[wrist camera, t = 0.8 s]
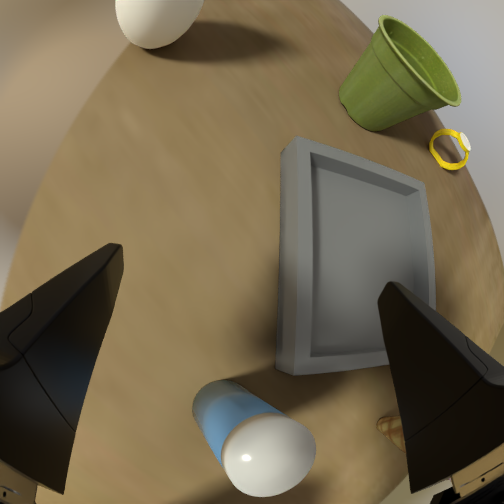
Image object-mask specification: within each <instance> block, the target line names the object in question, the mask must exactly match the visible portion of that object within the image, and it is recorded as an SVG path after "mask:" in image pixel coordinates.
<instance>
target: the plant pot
mask: <svg viewBox="0 0 504 504" xmlns="http://www.w3.org/2000/svg"><path fill="white" fill-rule="evenodd" d="M378 22H379V27H378V29H377V31H376V32H375V33H374V35H373V36H372V39H371V43H370V44H369V45H368V47H367V48H366V50H365V51H364V53H363V54H362V56H361V57H360V59H359V60H358V62H357V63H356V65H355V66H354V68H353V69H352V71H351V72H350V73H349V75H348V76H347V78H346V79H345V81H344V82H343V84H342V85H341V87H340V89H339V97H340V101H341V103H342V104H343V105H344V106H345V107H346V109H347V112H348V114H349V116H350V117H351V118H352V119H353V120H354V121H355V122H356V123H358V124H359V125H360V126H362V127H363V128H365V129H367V130H370V131H381V130H383V129H386V128H388V127H390V126H393V125H395V124H397V123H400V122H402V121H404V120H407V119H409V118H412V117H414V116H416V115H419V114H421V113H424V112H426V111H429V110H431V109H432V110H436V109H439V108H442V107H444V106H447V105H450V106H454V107H456V106H459V105H460V103H461V94H460V90H459V87H458V85H457V83H456V81H455V79H454V77H453V75H452V73H451V71H450V70H449V68H448V67H447V66H446V64H445V63H444V61H443V60H442V58H441V57H440V56H439V55H438V53H437V52H436V51H435V50H434V49H433V48H432V46H431V45H429V43H428V42H427V41H426V40H424V39H423V38H422V37H421V36H420V35H419V34H418V33H417V32H416V31H414V30H413V29H412V28H410V27H409V26H408V25H406V24H405V23H403V22H402V21H400V20H398V19H396V18H394V17H391V16H387V15H382V16H380V18H379V20H378Z"/></svg>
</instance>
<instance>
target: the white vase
mask: <svg viewBox="0 0 504 504" xmlns="http://www.w3.org/2000/svg"><path fill="white" fill-rule="evenodd" d="M203 3H204V0H116V14H117V18H118V22H119V25H120V27H121V29H122V31H123V33H124V34H125V36H126V37H127V38H128V40H129V41H131V42H132V43H133V44H135V45H137V46H140V47H142V48H146V49H155V48H159V47H162V46H165V45H168V44H171V43H172V42H174V41H176V40H177V39H178V38H179V37H180V36H182V35H183V34H184V33H185V32H186V31H187V30H188V29H189V27H190V26H191V25H192V23H193V22H194V21H195V19H196V18H197V16H198V14H199V12H200V10H201V8H202V6H203Z"/></svg>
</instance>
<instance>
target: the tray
mask: <svg viewBox="0 0 504 504" xmlns="http://www.w3.org/2000/svg"><path fill="white" fill-rule="evenodd" d="M389 281H394V282H399V283H400V284H402V285H403V286H404V287H406V288H407V289H408V290H410V291H411V292H412V293H414V294H415V295H416V296H417V297H419V298H420V299H421V300H422V301H424V302H425V303H426V304H428V305H429V306H430V307H431V308H433V309H434V310H435V311H436V287H435V267H434V253H433V242H432V233H431V224H430V216H429V209H428V202H427V196H426V190H425V185H424V183H423V182H421V181H419V180H417V179H414V178H412V177H410V176H407V175H405V174H403V173H400V172H398V171H395V170H393V169H391V168H388V167H386V166H383V165H381V164H378V163H375V162H373V161H370V160H367V159H365V158H362V157H359V156H357V155H354V154H351V153H348V152H345V151H343V150H340V149H337V148H334V147H331V146H328V145H325V144H322V143H318V142H315V141H312V140H309V139H306V138H302V137H299V136H296V137H295V138H294V139H293V140H292V141H291V142H290V143H289V144H288V145H287V147H286V148H285V149H284V150H283V151H282V152H281V196H280V253H279V288H278V317H277V341H276V362H275V369H277V370H280V371H282V372H285V373H288V374H291V375H307V374H319V373H329V372H338V371H347V370H355V369H362V368H369V367H376V366H382V365H388V364H389V361H388V357H387V352H386V348H385V344H384V340H383V335H382V328H381V322H380V316H379V311H378V305H377V301H378V298H379V296H380V294H381V292H382V290H383V289H384V287H385V285H386V283H387V282H389Z"/></svg>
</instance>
